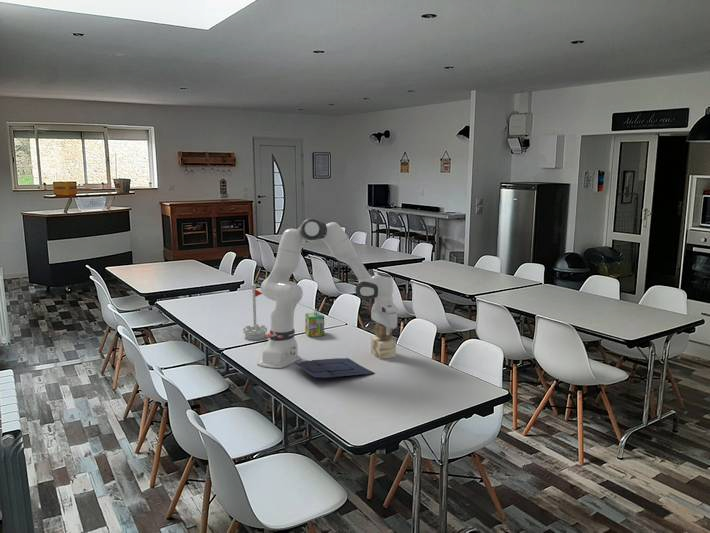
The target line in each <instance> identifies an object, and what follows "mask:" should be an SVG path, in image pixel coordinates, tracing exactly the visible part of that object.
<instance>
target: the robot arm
mask: <svg viewBox="0 0 710 533" xmlns="http://www.w3.org/2000/svg"><path fill="white" fill-rule="evenodd" d="M318 240H320V241H323V242H324V244H326V246H327V248H328V249H329V251H330V253H331V255H332V256H333V257H334V258H335V259H336V261H338V262H341V263H344V264H347V265H348V266H349V268H350V269H351V270H352V272H353V274H354V275H355V277H356V278H357V280H358V282H357V284H356V286H355V289H354V290H355V294H356V295H357V297H358V298H360V299H361V300H372V299H374V303H373V304H372V307H371V311H370V313H371V314H370V318H371V320H372V321H374V322H375V323H376V324H382V325H384V326H386V331H385V335H389V334H390V330H391V329H392V330H393V329H396V328H397V327H398V314H397V313H398V312H399V309H398V307H397V306H396V305H395V302H393V293H394V284H393V278H392V275H390V274H389V273H386V272H377V273H376V274H374V275H372V273H370V272H369V271H368V270H367V269H368V268H366V266H365V265H364V263H363V262H362V260H361V259H360V256H359V255H358V254H357V251H356V250H355V247H354V245H353V243H352V242H351V239H350V238H349V236H348V235H347V233H346V232H345V231H344V229H343V228H342V227H341V225H340V224H338V222H335V221H331V222H328V223H324V222H322V221H321V220H318V219H317V218H312V217H309V218H306V219H305V220H303V222H302V223H301V224H300V226H299V227H298V228H297V229H296V228H288V229H285V230H284V231H283V233H282V235H281V237H280V242H279V244H278V248H277V253H276V258H275V262H274V265H273V268H272V269H271V271H270V273H269V275H268V277H266V278H265V279H264V280H263V281H262V282H261V285H260V292H261V293H262V294H261V295H263V296H264V297H265V298H267V299H269V300H271V301H275V303H276V304H275V307H274V308H275V309H274V310H273V311H272V312H271V313H270V330H269V332H268V333H267V334H266V337H267V338H269V339H268V340H267V343H266V344H265V347H264V348H263V350H262V353H261V355H262V357H261V358H260V359H259V360H258V362H257V365H258V366H259V367H264V368H271V369H272V368H273V369H282V368H286V367H287V366H289V365H291V364H294V363H296V362H298V361H299V360H301V359H302V357H301V356H300V355H299V346H298V342H297V340H296V338H295V335H296V331H295V328H294V323H295V322H294V316H295V315H294V314H295V309H296V307H297V305H298V304H299V303H300V301H301V300H302V298H303V296H304V295H303V294H304V292H303V289H302V288H303V287H301V286H300V285H299V284H298V283H297V282H294V281H290V278H291V276H292V275H293V273H295V272H297V271H298V269H299V263H300V258H301V256H302V255H301V253H302V249H303V245H304V244H305V243H308V242H309V243H310V242H311V243H313V242H316V241H318Z"/></svg>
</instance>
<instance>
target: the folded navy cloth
mask: <svg viewBox="0 0 710 533" xmlns="http://www.w3.org/2000/svg"><path fill="white" fill-rule="evenodd" d="M294 364H295V365H296V366H298V367H299V368H301V369H302V370H304V372H306V373H307V374H308V375H311V376H312V377H314V378H322V379H325V378H338V377H346V376H359V375H370V374H371V375H372V374H375V372H374V371H372V370H370V369H367V368H366V367H364V366H362V365H360V364H359V363H357V362H355V361H353V360H352V359H350V358H349V357H345V358H342V357H341V358H340V357H339V358H337V357H336V358H324V359H323V358H321V359H311V360H305V361H300V362H294Z"/></svg>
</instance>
